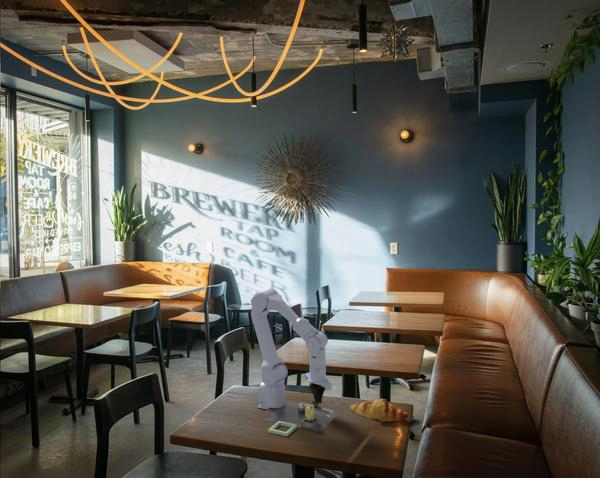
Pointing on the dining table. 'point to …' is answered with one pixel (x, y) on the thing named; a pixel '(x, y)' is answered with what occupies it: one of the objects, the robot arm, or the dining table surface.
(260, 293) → the robot arm
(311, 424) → the crank plate
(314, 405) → the crank
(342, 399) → the dining table surface
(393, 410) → the croissant
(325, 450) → the dining table surface
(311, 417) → the olive brown rounded cylinder
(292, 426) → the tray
